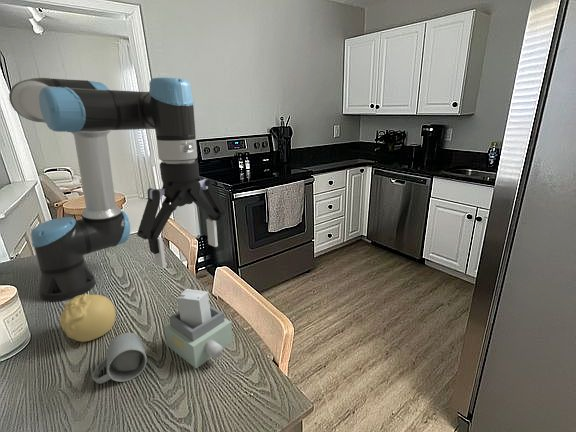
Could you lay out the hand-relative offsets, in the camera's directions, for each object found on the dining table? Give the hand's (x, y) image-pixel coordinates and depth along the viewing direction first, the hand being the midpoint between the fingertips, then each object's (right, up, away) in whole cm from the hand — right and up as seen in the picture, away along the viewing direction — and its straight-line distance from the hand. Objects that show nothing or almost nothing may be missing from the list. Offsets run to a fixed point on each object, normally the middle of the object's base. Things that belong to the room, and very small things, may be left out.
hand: (189, 254), depth 70 cm
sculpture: (-29, -22, +12) cm, 39 cm away
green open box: (+2, -23, +6) cm, 24 cm away
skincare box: (0, -21, +6) cm, 22 cm away
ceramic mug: (-15, -26, -1) cm, 30 cm away
